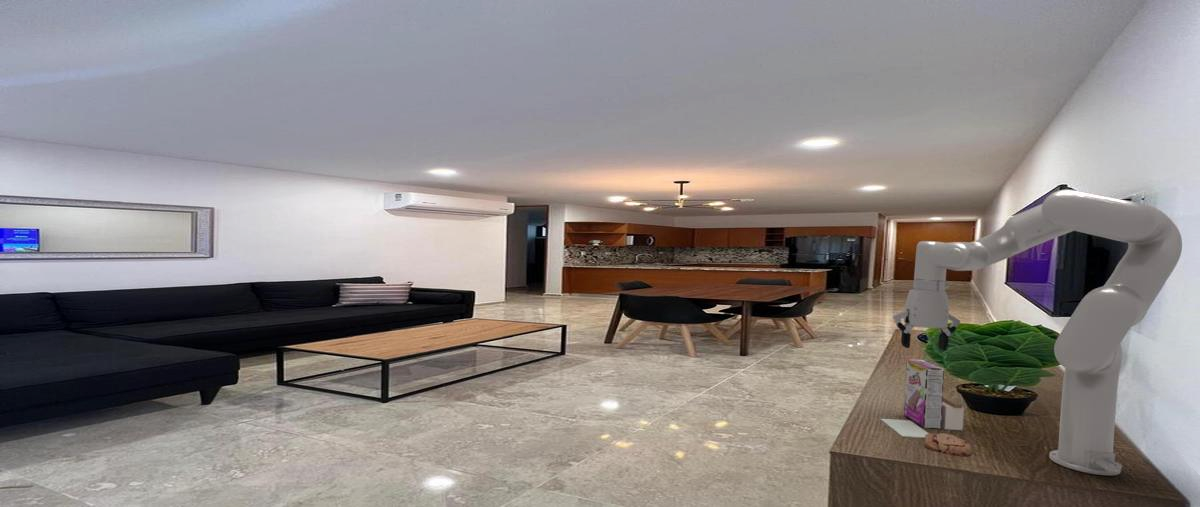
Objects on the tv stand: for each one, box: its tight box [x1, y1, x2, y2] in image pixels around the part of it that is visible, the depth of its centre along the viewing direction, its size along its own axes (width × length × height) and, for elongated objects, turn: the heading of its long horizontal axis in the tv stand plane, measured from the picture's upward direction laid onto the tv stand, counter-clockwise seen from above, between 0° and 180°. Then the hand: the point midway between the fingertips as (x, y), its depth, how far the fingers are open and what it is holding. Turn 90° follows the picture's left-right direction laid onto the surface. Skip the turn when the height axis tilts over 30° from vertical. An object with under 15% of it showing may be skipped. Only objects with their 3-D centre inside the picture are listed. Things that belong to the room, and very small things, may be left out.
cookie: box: [923, 432, 973, 457], centre depth 142 cm, size 10×11×3 cm
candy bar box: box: [903, 358, 945, 430], centre depth 162 cm, size 11×5×16 cm, turn 179°
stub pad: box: [879, 418, 929, 439], centre depth 155 cm, size 14×8×1 cm, turn 175°
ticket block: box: [941, 394, 965, 431], centre depth 162 cm, size 13×5×7 cm, turn 175°
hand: (923, 348), depth 162 cm, fingers open, 9 cm apart
